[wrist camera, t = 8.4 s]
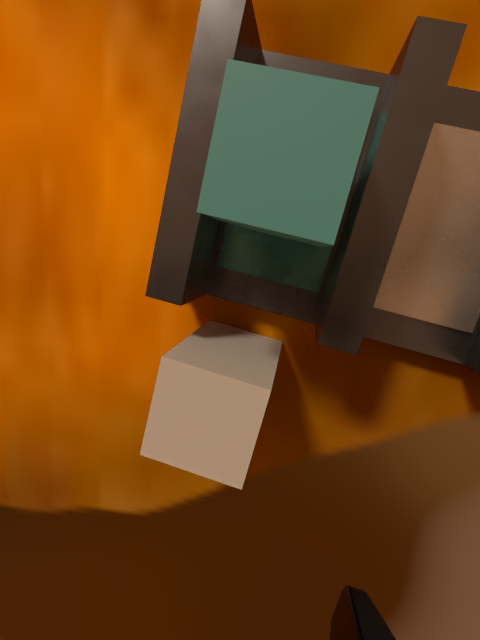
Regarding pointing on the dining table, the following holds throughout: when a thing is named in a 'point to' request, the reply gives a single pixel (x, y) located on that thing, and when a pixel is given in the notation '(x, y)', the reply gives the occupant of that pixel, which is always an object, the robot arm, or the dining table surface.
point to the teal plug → (284, 151)
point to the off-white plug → (211, 402)
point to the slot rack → (360, 210)
